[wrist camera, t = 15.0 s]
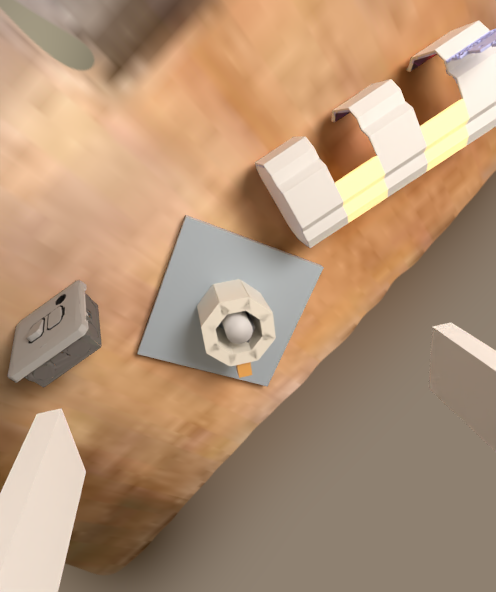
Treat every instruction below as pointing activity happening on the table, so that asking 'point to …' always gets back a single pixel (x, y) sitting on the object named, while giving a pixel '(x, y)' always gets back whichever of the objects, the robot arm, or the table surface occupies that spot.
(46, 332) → the electrical switch
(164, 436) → the table surface
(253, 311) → the beige octagonal hollow block
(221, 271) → the shaft plate
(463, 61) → the striped octagonal tube
